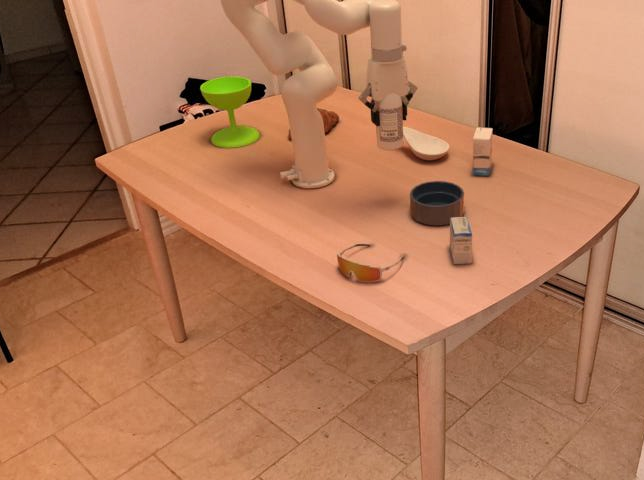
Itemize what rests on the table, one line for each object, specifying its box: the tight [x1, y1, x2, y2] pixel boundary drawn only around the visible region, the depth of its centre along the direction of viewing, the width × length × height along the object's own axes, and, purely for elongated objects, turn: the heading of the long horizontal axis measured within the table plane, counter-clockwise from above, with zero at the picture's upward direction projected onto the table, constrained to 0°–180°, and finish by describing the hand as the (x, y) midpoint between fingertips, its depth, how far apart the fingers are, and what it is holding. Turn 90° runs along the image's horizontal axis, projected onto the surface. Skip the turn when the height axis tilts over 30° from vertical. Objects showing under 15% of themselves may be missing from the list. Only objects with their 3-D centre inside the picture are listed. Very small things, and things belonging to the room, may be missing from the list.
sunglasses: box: [336, 242, 405, 283], centre depth 169 cm, size 14×15×5 cm
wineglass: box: [199, 76, 261, 149], centre depth 230 cm, size 16×16×18 cm
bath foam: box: [375, 93, 404, 151], centre depth 181 cm, size 7×7×20 cm
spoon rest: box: [403, 125, 451, 161], centre depth 219 cm, size 24×12×7 cm, turn 56°
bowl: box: [409, 180, 465, 226], centre depth 188 cm, size 14×14×6 cm
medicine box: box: [449, 216, 473, 265], centre depth 170 cm, size 8×4×9 cm, turn 5°
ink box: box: [472, 126, 494, 177], centre depth 207 cm, size 9×5×12 cm, turn 168°
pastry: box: [288, 107, 340, 141], centre depth 236 cm, size 17×15×8 cm
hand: (389, 121), depth 183 cm, fingers closed on bath foam, 6 cm apart
